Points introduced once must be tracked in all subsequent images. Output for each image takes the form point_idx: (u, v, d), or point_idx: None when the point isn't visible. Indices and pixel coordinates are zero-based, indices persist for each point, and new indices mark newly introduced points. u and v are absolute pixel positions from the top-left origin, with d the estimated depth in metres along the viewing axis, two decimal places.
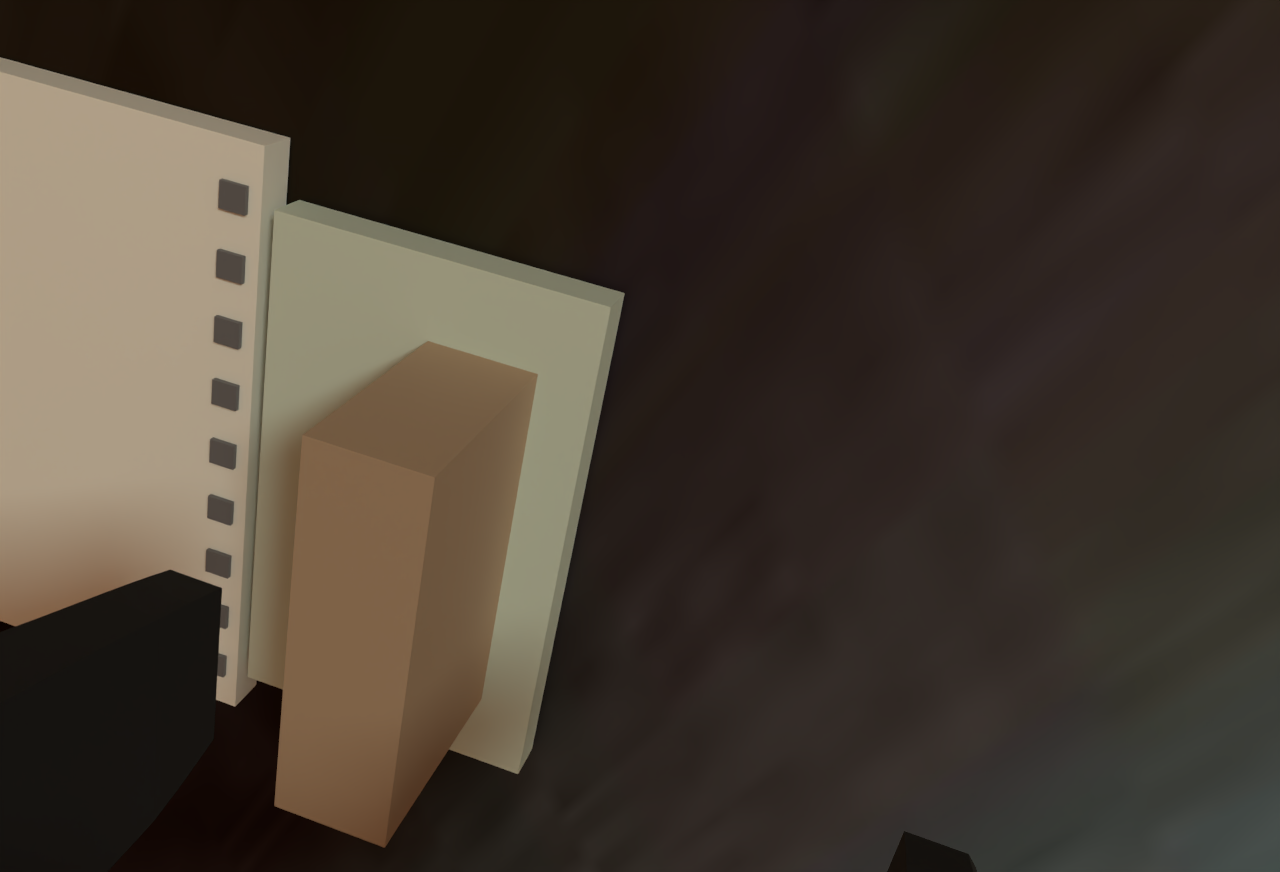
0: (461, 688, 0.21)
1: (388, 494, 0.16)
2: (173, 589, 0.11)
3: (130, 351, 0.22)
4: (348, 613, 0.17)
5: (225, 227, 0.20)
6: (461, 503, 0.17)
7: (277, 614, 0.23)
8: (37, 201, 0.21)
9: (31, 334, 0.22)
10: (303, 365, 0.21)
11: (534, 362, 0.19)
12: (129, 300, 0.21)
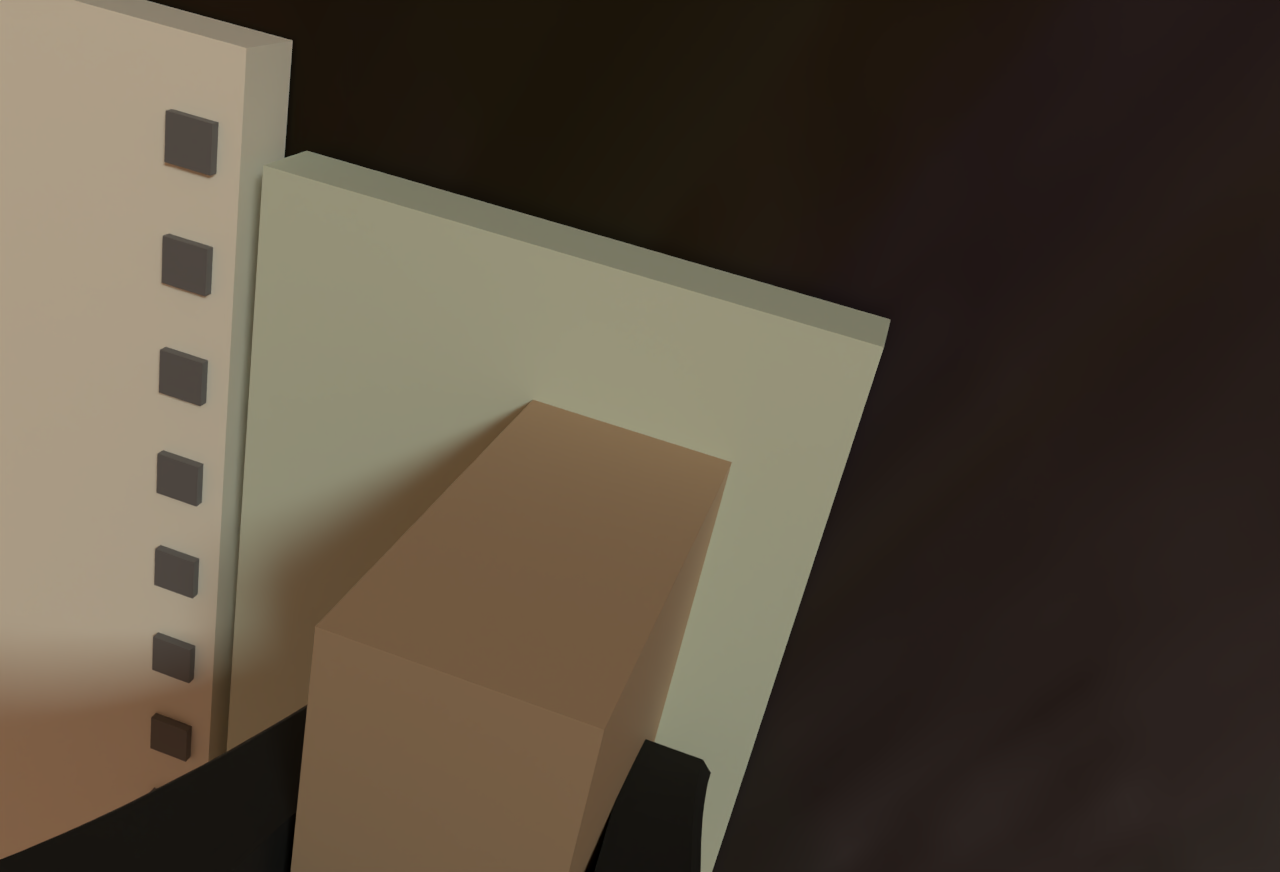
0: None
1: (498, 755, 0.08)
2: None
3: (23, 404, 0.13)
4: None
5: (178, 197, 0.11)
6: (625, 736, 0.09)
7: None
8: None
9: None
10: (311, 435, 0.12)
11: (727, 441, 0.11)
12: (19, 320, 0.13)
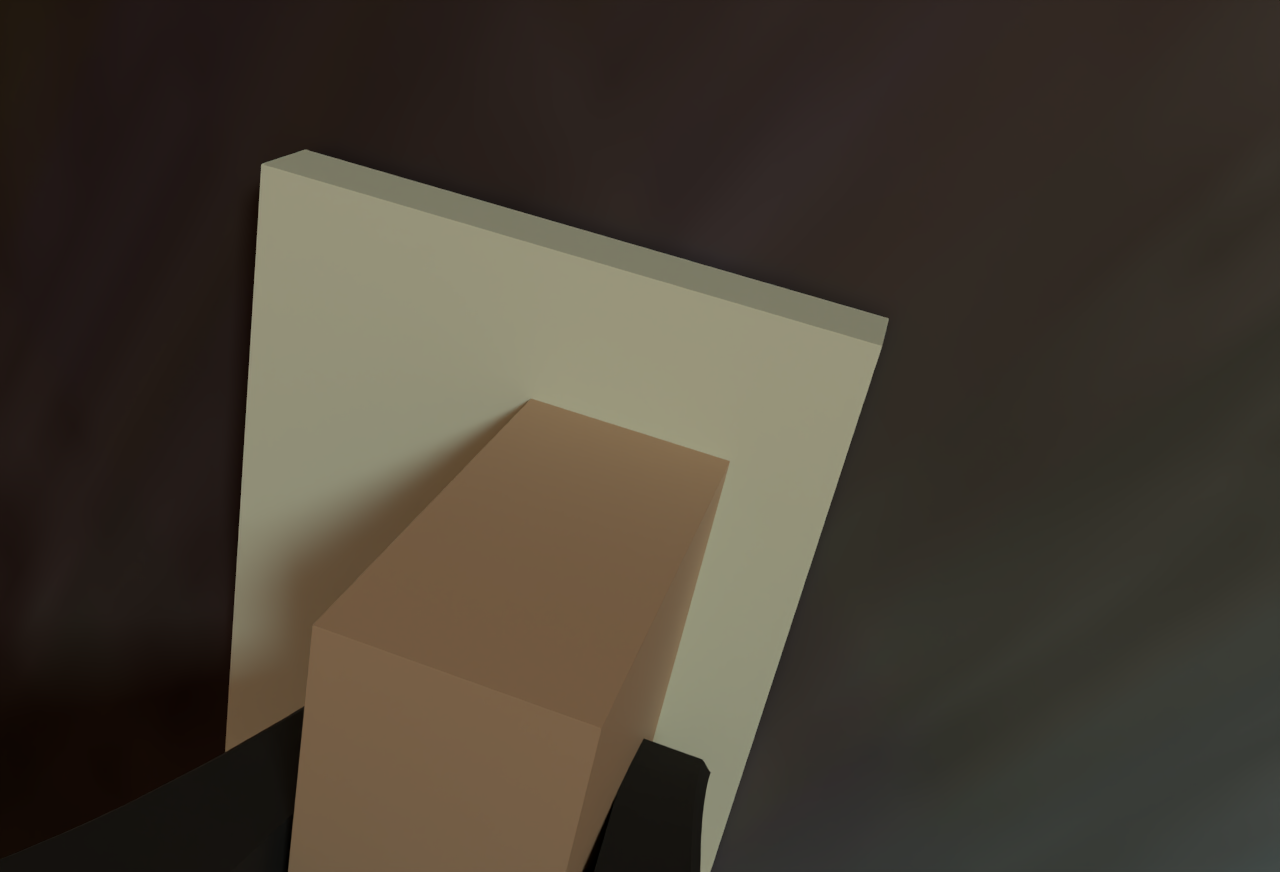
0: None
1: (495, 754, 0.08)
2: None
3: None
4: None
5: None
6: (622, 735, 0.09)
7: None
8: None
9: None
10: (310, 434, 0.12)
11: (725, 440, 0.11)
12: None
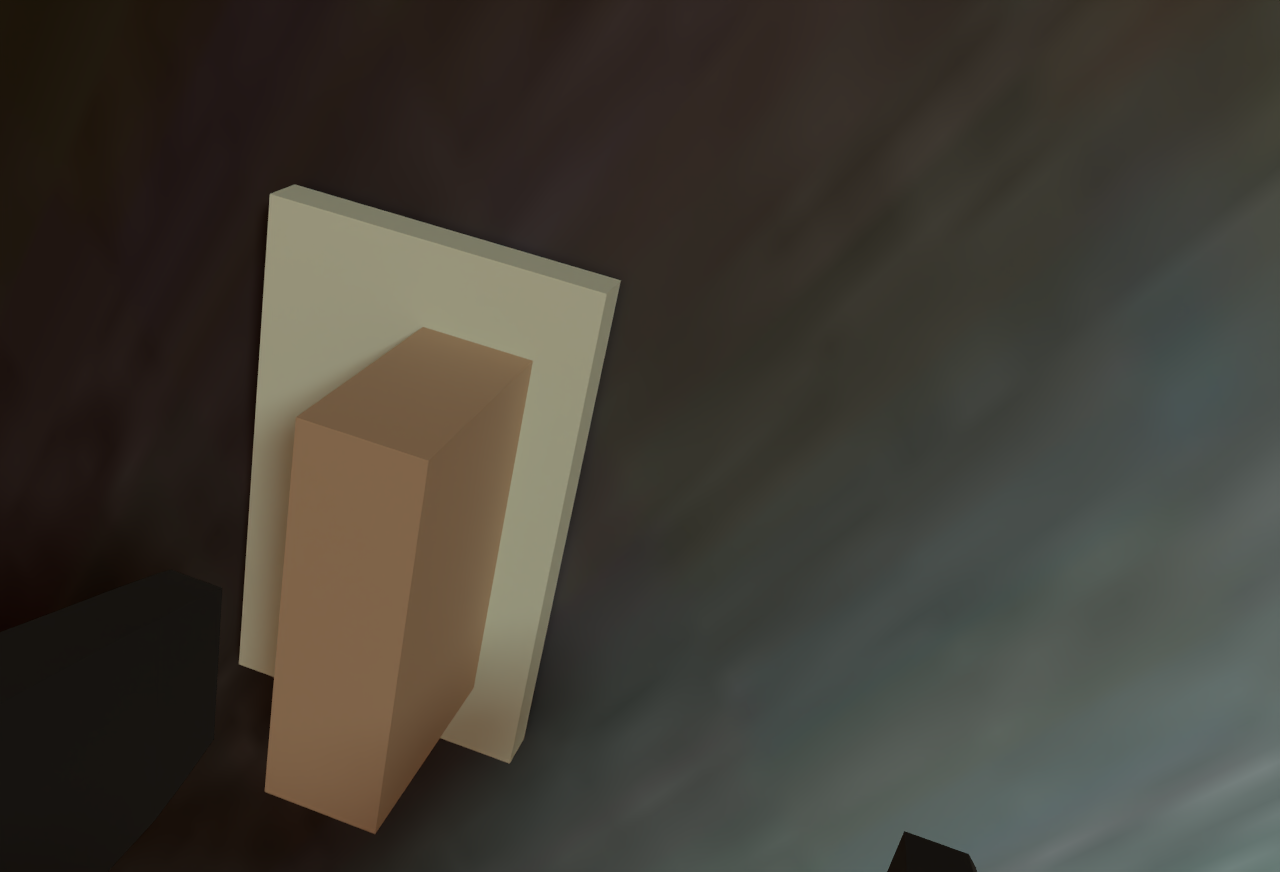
0: (453, 676, 0.21)
1: (382, 478, 0.16)
2: (174, 588, 0.11)
3: None
4: (341, 597, 0.17)
5: None
6: (455, 488, 0.17)
7: (270, 602, 0.23)
8: None
9: None
10: (297, 350, 0.21)
11: (529, 349, 0.19)
12: None
